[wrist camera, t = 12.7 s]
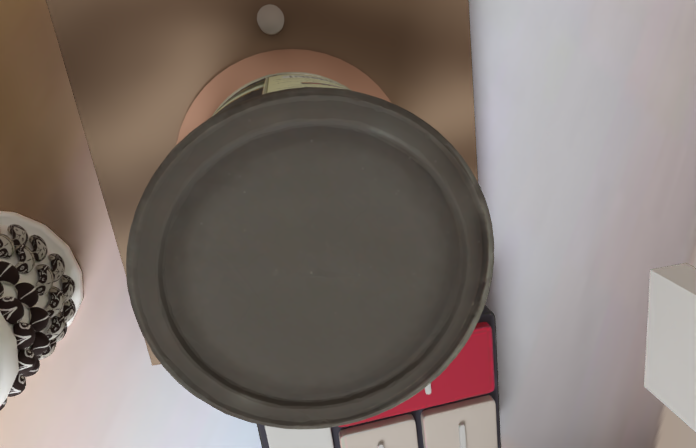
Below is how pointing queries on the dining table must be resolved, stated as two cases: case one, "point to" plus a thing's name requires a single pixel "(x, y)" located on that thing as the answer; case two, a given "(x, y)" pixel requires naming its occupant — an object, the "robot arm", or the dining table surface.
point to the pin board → (248, 71)
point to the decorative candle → (32, 297)
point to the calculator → (424, 409)
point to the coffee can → (309, 255)
